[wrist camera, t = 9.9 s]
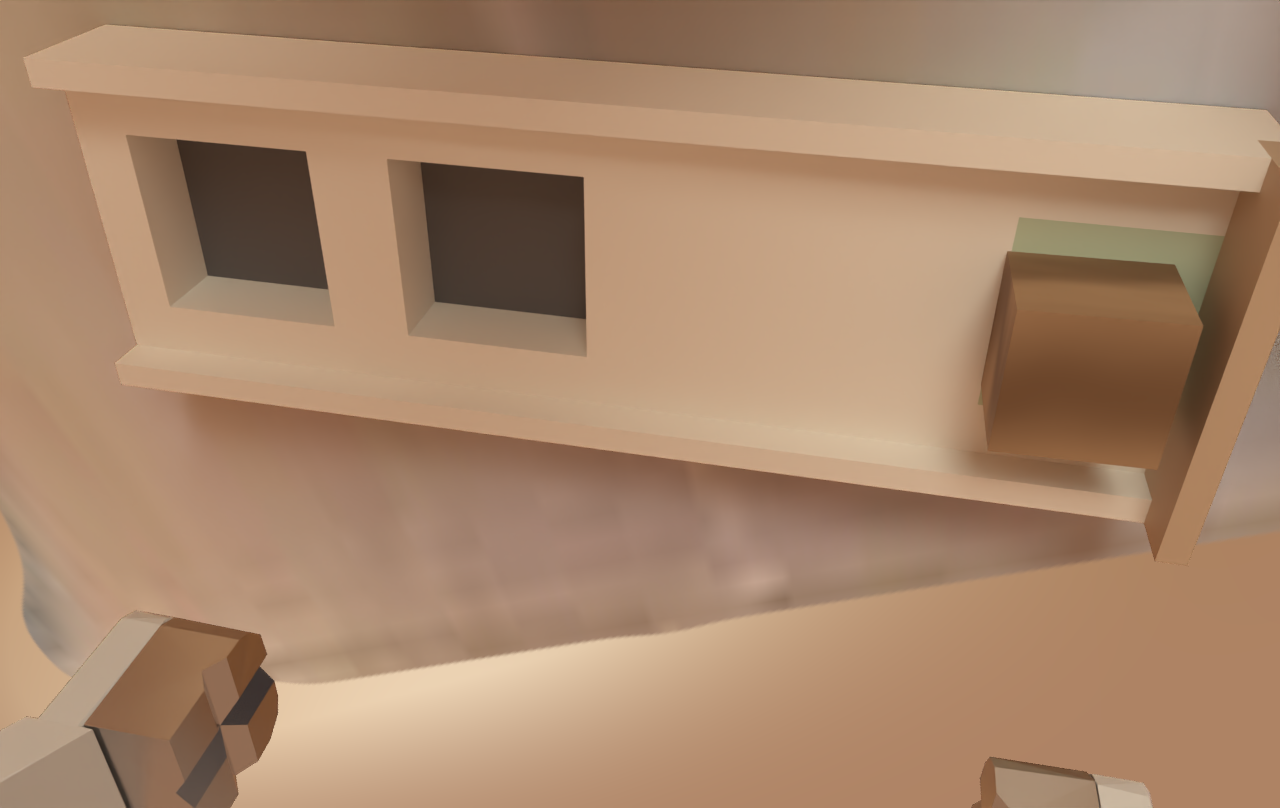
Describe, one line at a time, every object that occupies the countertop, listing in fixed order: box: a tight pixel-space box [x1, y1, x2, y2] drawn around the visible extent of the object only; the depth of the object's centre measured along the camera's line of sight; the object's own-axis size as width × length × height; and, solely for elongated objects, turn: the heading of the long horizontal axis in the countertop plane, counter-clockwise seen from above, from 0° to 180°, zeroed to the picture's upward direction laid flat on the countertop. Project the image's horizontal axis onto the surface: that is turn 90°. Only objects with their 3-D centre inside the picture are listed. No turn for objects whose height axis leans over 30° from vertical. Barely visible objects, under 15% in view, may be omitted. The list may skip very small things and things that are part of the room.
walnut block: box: [981, 251, 1203, 470], centre depth 33 cm, size 5×5×4 cm
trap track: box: [23, 25, 1280, 566], centre depth 37 cm, size 13×40×6 cm, turn 89°
